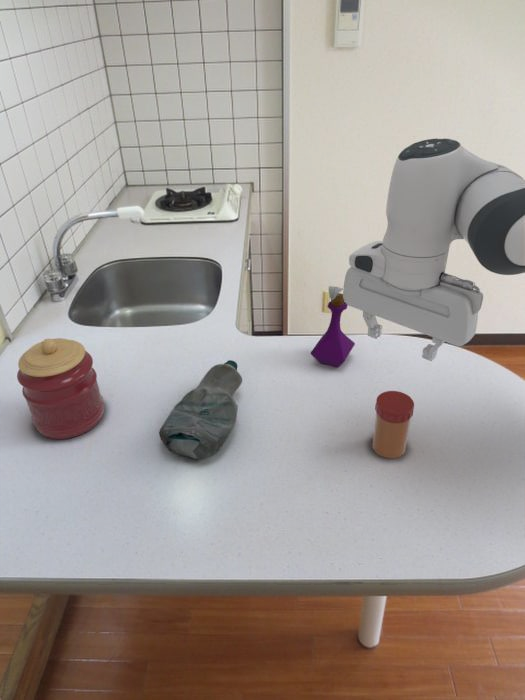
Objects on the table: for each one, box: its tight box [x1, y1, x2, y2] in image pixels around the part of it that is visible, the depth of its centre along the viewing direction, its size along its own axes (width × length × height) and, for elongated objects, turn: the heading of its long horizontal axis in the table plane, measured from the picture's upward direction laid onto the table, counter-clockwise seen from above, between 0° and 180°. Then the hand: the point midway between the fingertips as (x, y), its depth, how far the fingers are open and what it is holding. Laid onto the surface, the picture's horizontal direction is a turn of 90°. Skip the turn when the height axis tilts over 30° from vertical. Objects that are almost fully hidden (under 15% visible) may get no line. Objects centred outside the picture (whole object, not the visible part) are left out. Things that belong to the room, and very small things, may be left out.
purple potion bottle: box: [310, 285, 356, 369], centre depth 109 cm, size 8×8×18 cm
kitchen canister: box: [16, 337, 105, 440], centre depth 96 cm, size 13×13×18 cm
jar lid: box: [374, 390, 415, 423], centre depth 86 cm, size 6×6×2 cm
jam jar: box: [371, 412, 412, 460], centre depth 89 cm, size 6×6×10 cm
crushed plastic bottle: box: [158, 359, 243, 460], centre depth 97 cm, size 13×7×25 cm
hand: (400, 346), depth 81 cm, fingers open, 8 cm apart
